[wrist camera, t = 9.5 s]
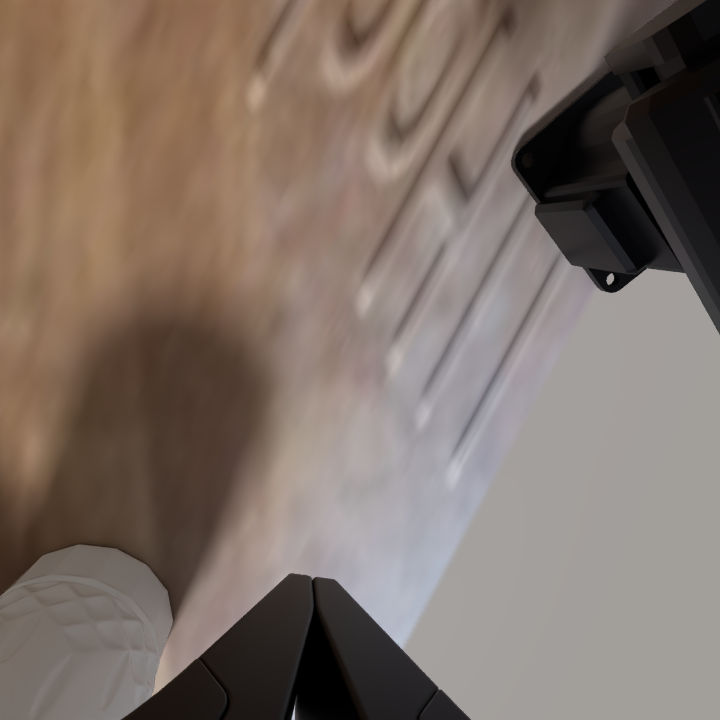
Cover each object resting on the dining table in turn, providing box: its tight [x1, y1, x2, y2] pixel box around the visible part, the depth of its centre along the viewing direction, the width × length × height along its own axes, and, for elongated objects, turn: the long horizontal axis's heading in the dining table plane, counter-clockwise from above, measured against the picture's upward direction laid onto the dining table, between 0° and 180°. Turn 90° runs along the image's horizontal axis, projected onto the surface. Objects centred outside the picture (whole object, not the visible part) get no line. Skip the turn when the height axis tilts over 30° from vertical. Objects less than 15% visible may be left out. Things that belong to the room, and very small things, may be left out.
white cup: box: [0, 544, 173, 720], centre depth 18 cm, size 8×8×10 cm
